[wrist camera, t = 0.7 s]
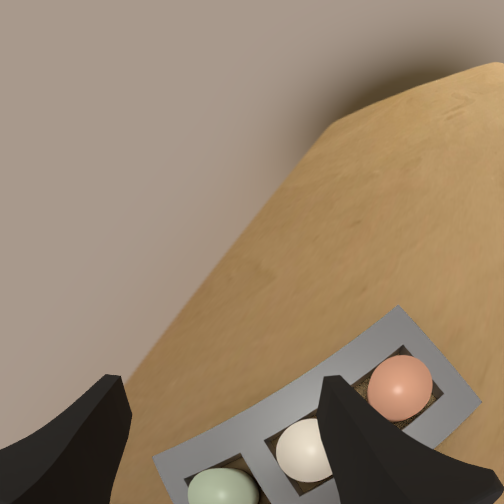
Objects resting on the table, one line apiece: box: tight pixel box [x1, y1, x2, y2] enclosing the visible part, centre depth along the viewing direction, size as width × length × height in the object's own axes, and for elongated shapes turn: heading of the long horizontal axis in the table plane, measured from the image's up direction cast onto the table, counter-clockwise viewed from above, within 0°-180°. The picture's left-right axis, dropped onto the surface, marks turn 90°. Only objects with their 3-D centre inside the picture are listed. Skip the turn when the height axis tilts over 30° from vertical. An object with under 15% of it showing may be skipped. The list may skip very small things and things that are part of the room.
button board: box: [152, 305, 482, 504], centre depth 21 cm, size 12×26×2 cm, turn 119°
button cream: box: [276, 419, 332, 482], centre depth 20 cm, size 5×5×3 cm
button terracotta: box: [367, 355, 433, 422], centre depth 21 cm, size 5×5×3 cm
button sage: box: [188, 468, 259, 504], centre depth 19 cm, size 5×5×3 cm
